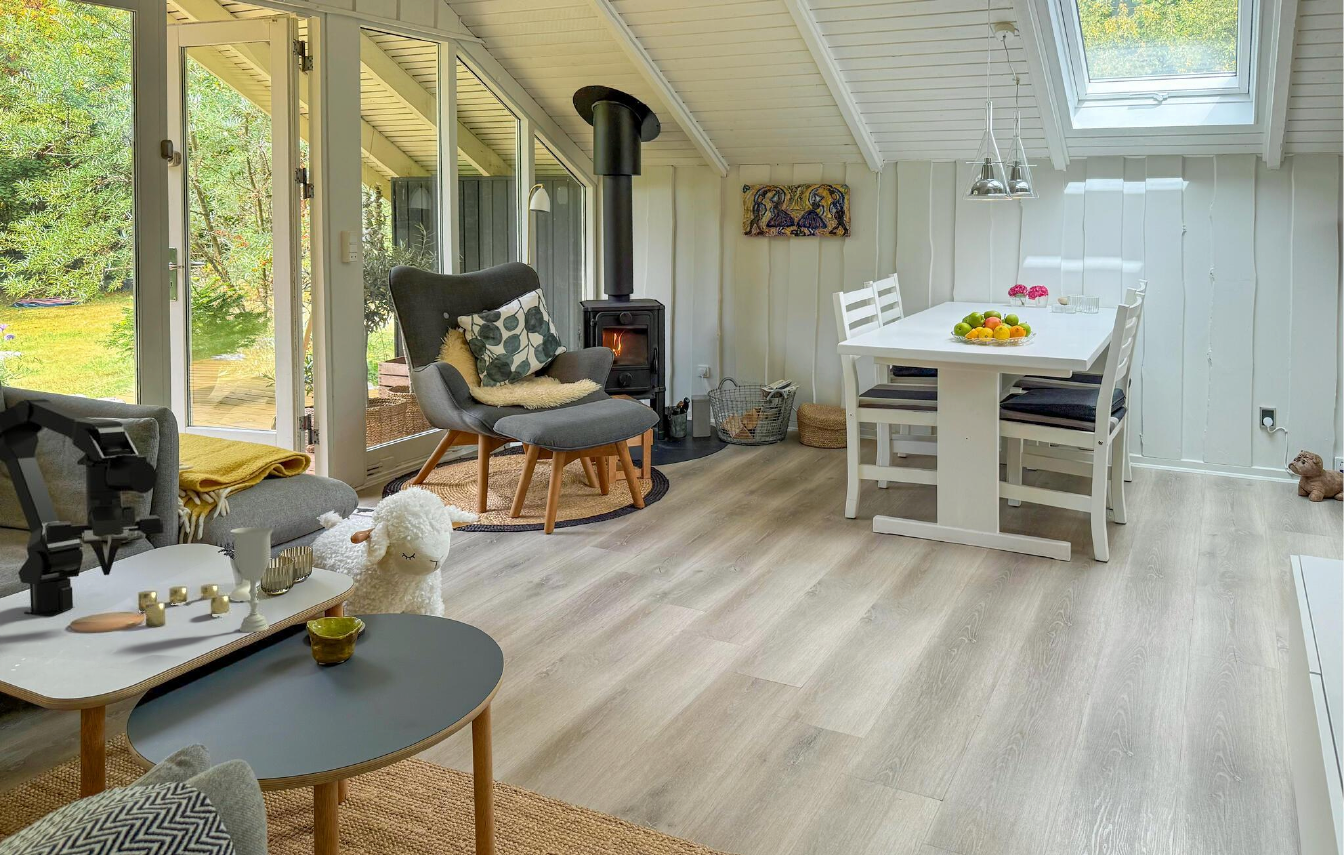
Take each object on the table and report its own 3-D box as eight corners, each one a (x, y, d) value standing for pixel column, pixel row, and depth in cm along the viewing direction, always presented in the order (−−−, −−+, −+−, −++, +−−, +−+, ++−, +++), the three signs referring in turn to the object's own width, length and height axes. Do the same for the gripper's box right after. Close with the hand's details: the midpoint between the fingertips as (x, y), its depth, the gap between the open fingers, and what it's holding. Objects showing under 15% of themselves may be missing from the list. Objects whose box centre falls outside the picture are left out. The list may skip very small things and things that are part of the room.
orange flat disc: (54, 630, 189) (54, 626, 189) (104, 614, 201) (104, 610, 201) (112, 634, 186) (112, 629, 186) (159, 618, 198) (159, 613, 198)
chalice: (282, 624, 194) (280, 527, 192) (264, 633, 187) (262, 533, 186) (244, 623, 194) (242, 526, 193) (225, 632, 187) (222, 532, 186)
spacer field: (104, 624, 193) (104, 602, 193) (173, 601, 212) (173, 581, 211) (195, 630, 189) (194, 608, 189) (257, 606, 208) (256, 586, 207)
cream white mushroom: (225, 605, 209) (224, 565, 208) (258, 600, 213) (257, 561, 212) (235, 611, 204) (234, 570, 204) (268, 606, 208) (267, 566, 207)
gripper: (46, 498, 180) (49, 588, 181) (166, 491, 190) (168, 577, 191) (43, 491, 189) (46, 577, 190) (158, 485, 200) (160, 566, 201)
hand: (106, 574), depth 193 cm, fingers closed
